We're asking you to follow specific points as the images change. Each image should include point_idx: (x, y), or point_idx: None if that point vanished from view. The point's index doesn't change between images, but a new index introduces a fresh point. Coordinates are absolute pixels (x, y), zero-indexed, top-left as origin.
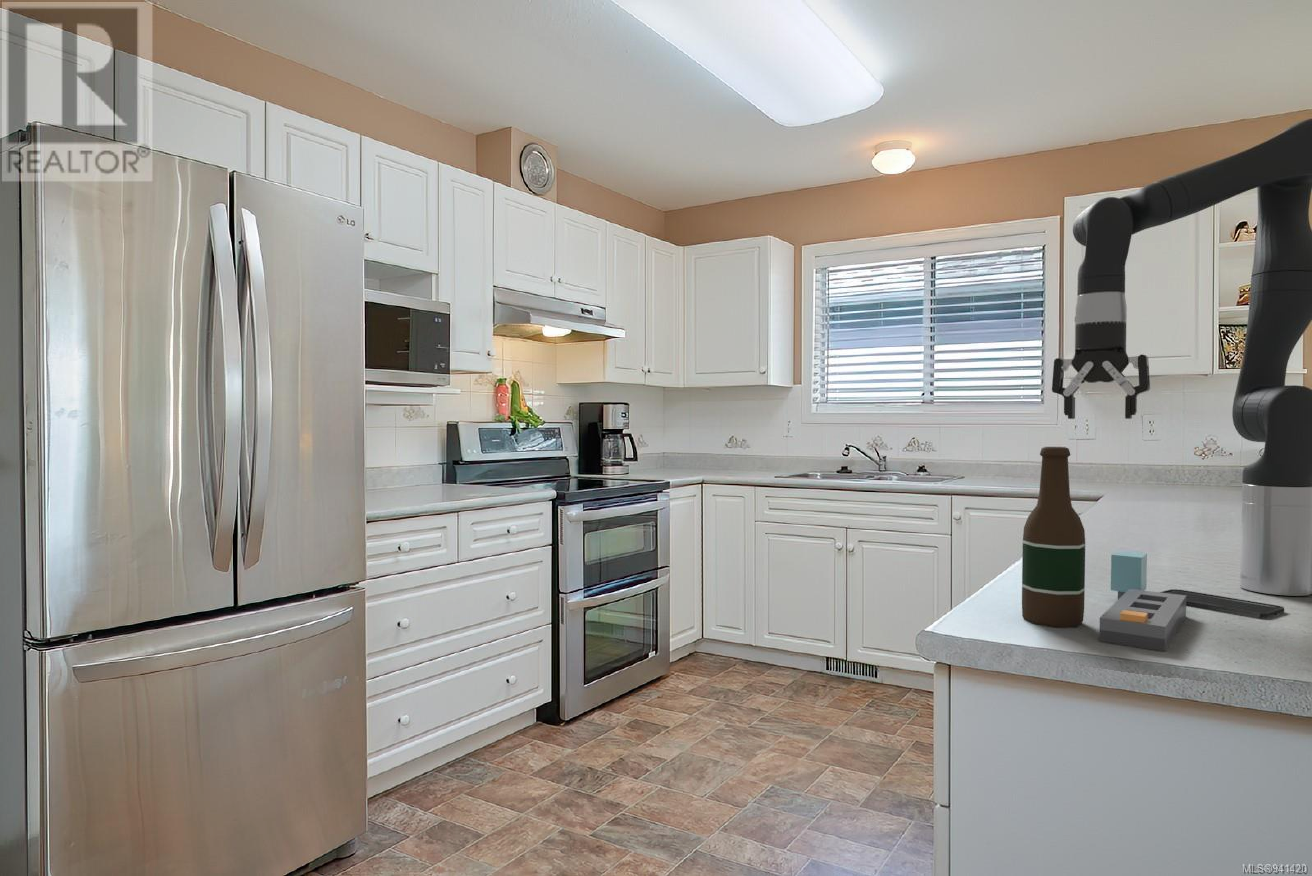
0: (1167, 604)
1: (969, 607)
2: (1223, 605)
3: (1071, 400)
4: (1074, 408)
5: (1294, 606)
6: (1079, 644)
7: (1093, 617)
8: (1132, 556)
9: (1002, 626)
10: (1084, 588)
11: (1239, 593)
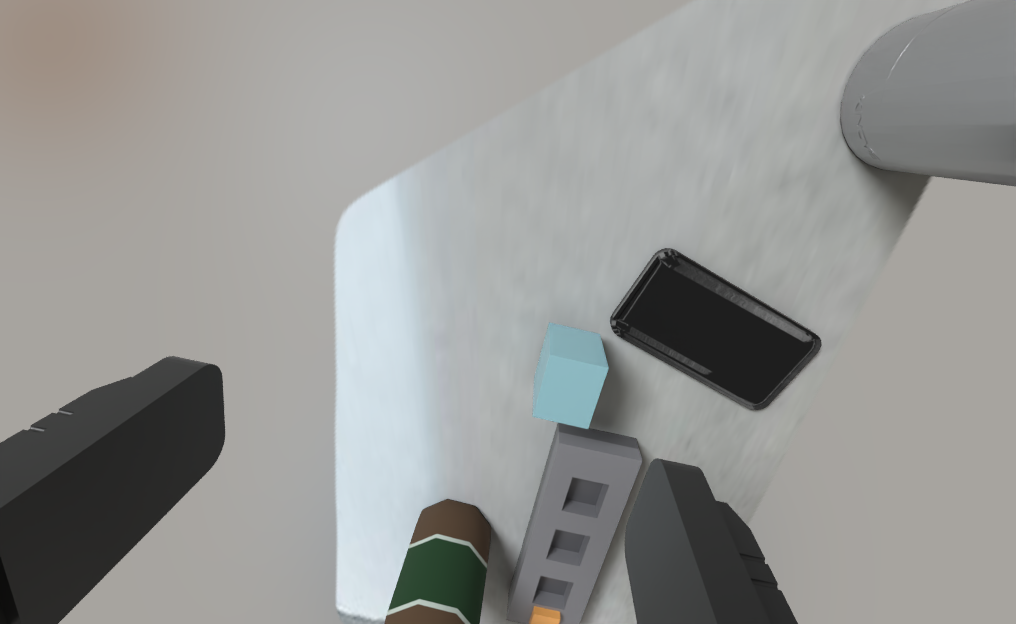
0: (599, 530)
1: (342, 494)
2: (716, 363)
3: (65, 607)
4: (143, 441)
5: (866, 274)
6: (488, 607)
7: (504, 488)
8: (572, 422)
9: (401, 568)
10: (486, 568)
11: (809, 174)
